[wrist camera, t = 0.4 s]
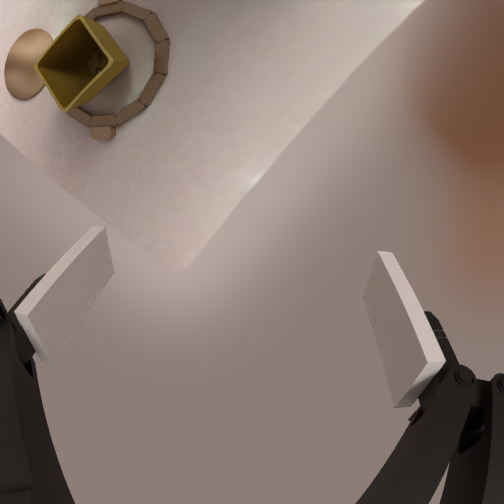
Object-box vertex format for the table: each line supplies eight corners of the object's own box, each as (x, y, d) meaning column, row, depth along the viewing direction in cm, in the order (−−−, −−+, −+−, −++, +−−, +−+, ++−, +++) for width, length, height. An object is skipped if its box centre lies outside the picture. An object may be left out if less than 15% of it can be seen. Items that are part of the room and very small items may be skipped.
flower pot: (147, 64, 31) (114, 62, 24) (101, 105, 34) (63, 115, 26) (115, 22, 28) (79, 12, 20) (73, 64, 31) (32, 66, 23)
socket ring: (63, 10, 26) (57, 8, 24) (176, -15, 25) (172, -18, 24) (59, 139, 37) (53, 141, 35) (165, 135, 36) (160, 137, 35)
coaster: (8, 40, 27) (6, 40, 26) (57, 20, 26) (55, 20, 26) (6, 103, 33) (4, 104, 32) (53, 92, 33) (50, 92, 32)
